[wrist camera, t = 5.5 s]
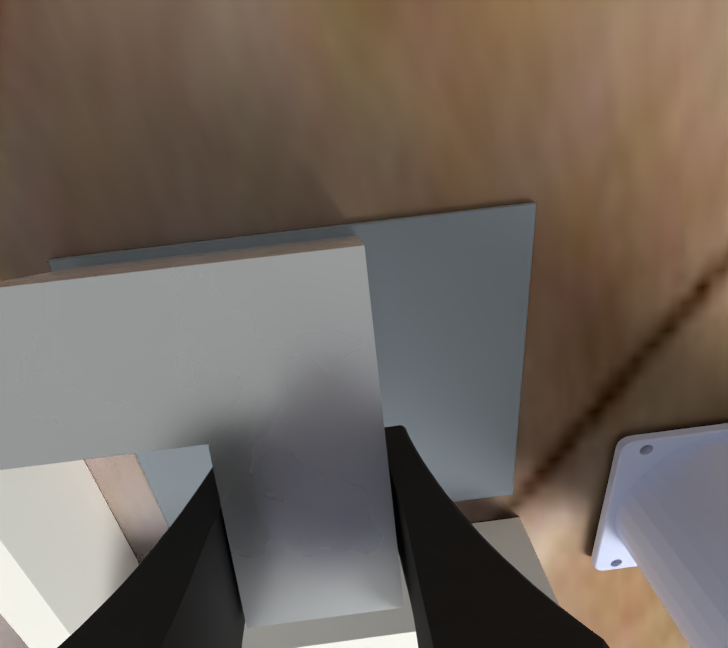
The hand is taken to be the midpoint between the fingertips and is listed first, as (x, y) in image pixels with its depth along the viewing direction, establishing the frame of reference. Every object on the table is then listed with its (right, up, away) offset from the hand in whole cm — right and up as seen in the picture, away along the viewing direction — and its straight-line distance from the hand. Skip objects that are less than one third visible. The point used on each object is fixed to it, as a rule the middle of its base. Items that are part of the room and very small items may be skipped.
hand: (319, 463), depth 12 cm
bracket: (-3, +2, +2) cm, 4 cm away
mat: (0, +1, +3) cm, 4 cm away
